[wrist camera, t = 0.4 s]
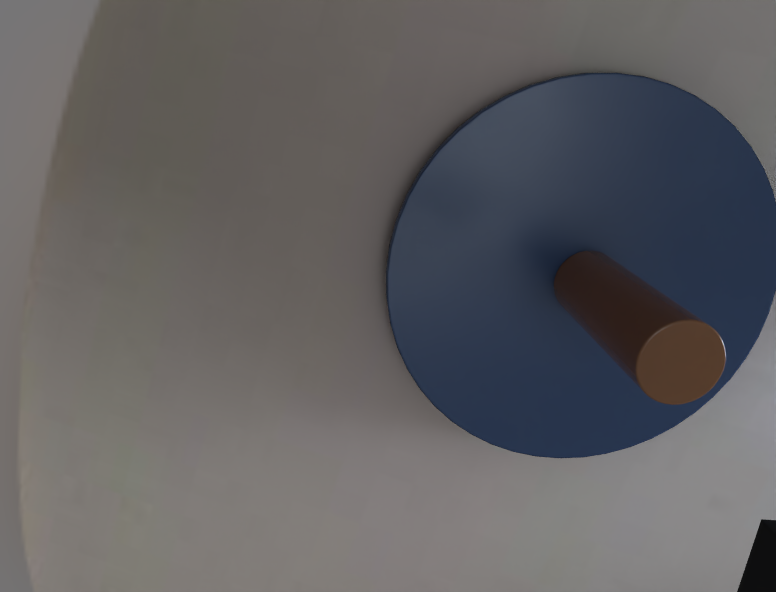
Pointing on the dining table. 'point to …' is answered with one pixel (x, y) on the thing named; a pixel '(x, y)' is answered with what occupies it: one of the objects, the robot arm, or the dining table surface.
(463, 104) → the dining table surface
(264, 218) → the dining table surface
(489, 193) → the pot lid
